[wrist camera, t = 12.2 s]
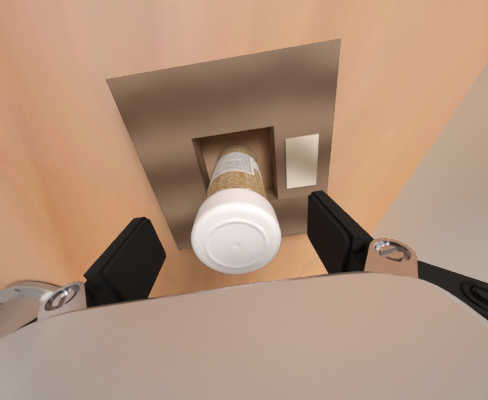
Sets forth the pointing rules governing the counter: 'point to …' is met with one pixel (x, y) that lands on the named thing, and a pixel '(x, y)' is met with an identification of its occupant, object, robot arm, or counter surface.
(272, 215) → the sprinkles bottle
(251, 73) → the socket board
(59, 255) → the counter surface
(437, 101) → the counter surface
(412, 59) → the counter surface
